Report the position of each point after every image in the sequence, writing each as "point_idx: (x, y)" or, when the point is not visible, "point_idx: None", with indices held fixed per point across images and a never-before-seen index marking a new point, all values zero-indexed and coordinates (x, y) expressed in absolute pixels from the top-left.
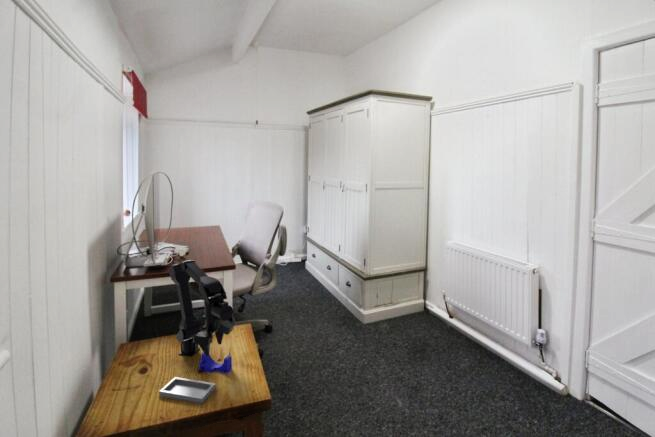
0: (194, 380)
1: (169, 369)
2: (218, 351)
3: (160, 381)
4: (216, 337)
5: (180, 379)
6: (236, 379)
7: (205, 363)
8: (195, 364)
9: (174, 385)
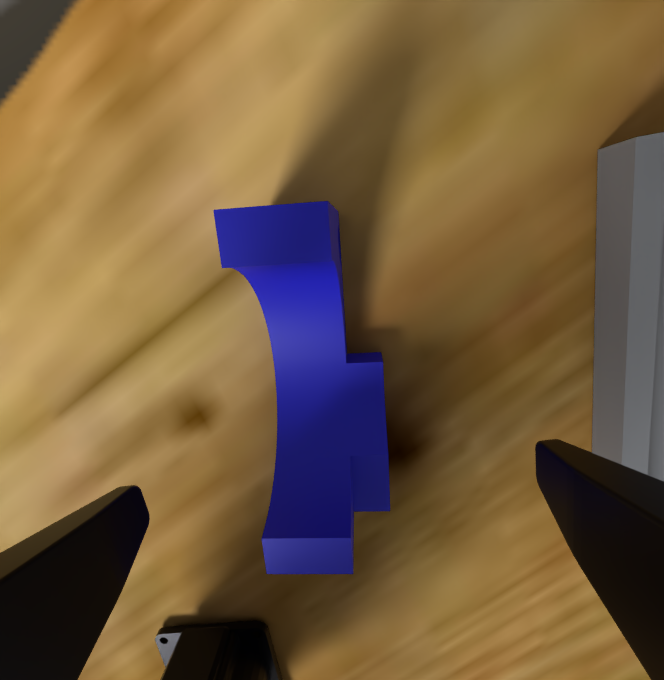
0: (632, 383)
1: (462, 645)
2: None
3: None
4: (75, 673)
5: None
6: (392, 44)
7: (371, 460)
8: None
9: None
